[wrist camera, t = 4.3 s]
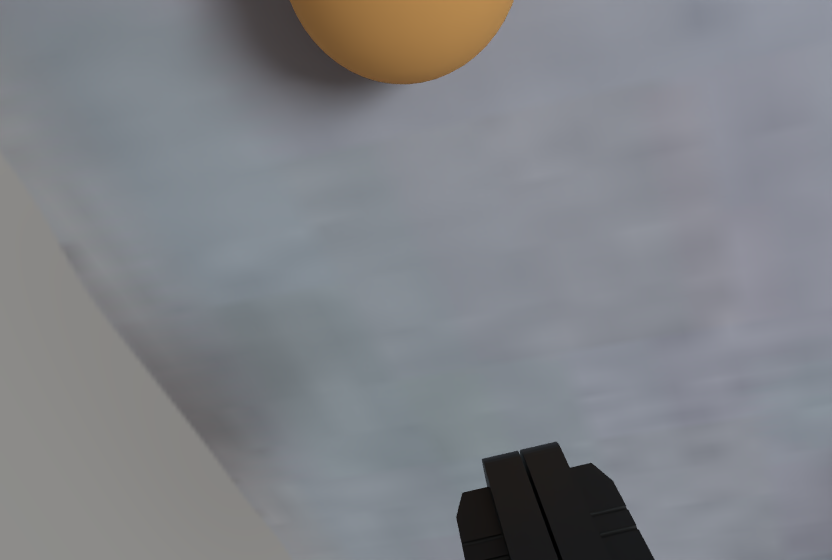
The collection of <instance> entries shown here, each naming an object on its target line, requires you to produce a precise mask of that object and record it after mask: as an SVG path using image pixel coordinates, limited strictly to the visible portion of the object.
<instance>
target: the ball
mask: <svg viewBox="0 0 832 560" xmlns="http://www.w3.org/2000/svg"><path fill="white" fill-rule="evenodd" d="M290 2H291V4H292V6H293V9H294V11H295V13H296V15H297V17H298V19H299V20H300V22H301V24H302V26H303V27H304V29H305V30H306V31H307V33H308V34H309V35H310V37H311V38H312V39H313V41H314V42H315V43H316V44H317V45H318V46H319V47H320V48H321V49H322V50H323V51H324V52H325V53H326V54H327V55H328V56H329V57H331V58H332V59H333V60H334V61H336V62H337V63H338V64H340V65H341V66H343V67H345V68H346V69H348V70H349V71H351V72H353V73H356V74H358V75H360V76H362V77H365V78H368V79H371V80H375V81H378V82H384V83H390V84H413V83H422V82H426V81H430V80H434V79H437V78H439V77H442V76H444V75H447V74H449V73H451V72H453V71H455V70H456V69H458V68H460V67H462V66H463V65H465V64H466V63H467V62H469V61H470V60H471V59H473V58H474V57H475V56H476V55H477V54H478V53H479V52H481V51H482V50H483V49H484V48H485V47H486V46H487V44H488V43H489V42H490V41H491V39H492V38H493V37H494V36H495V34H496V33H497V32H498V30H499V28H500V27H501V25H502V24H503V22H504V20H505V19H506V16H507V14H508V12H509V10H510V8H511V6H512V3H513V0H290Z"/></svg>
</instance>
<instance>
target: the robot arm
mask: <svg viewBox="0 0 832 560" xmlns="http://www.w3.org/2000/svg"><path fill="white" fill-rule="evenodd" d="M482 463H483V468H484V473H485V478H486V483H487V487H486V488H481V489H477V490H473V491H468V492H464V493H462V497H461V501H460V505H459V509H458V513H457V517H456V518H457V523H458V528H459V533H460V538H461V542H462V547H463V552H464V557H465V560H654V558H653V556H652V554H651V552H650V550H649V548H648V546H647V545H646V543H645V541H644V539H643V537H642V535H641V533H640V531H639V529H637V527H636V524H635V522H634V520H633V518H632V516H631V514H630V512H629V510H627V508H626V505H625V503H624V501H623V499H622V497H621V495H620V493H619V492H618V490H617V488H616V486H615V484H614V482H613V481H612V480H611V479H610V478H609V477H608V476H606V475H605V474H604V473H603V472H602V471H600V470H599V469H598V468H597V467H596V466H595V465H593V464H592V463H589V464H584V465H580V466H576V467H571V468H570V467H569V465H568V463H567V461H566V459H565V456H564V454H563V452H562V450H561V448H560V446H559V444H558V443H557V442H553V443H548V444H544V445H540V446H535V447H531V448H527V449H522V450H520V454H519V452H518V451H514V452H510V453H506V454H501V455H497V456H493V457H488V458H484V459H482Z"/></svg>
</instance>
